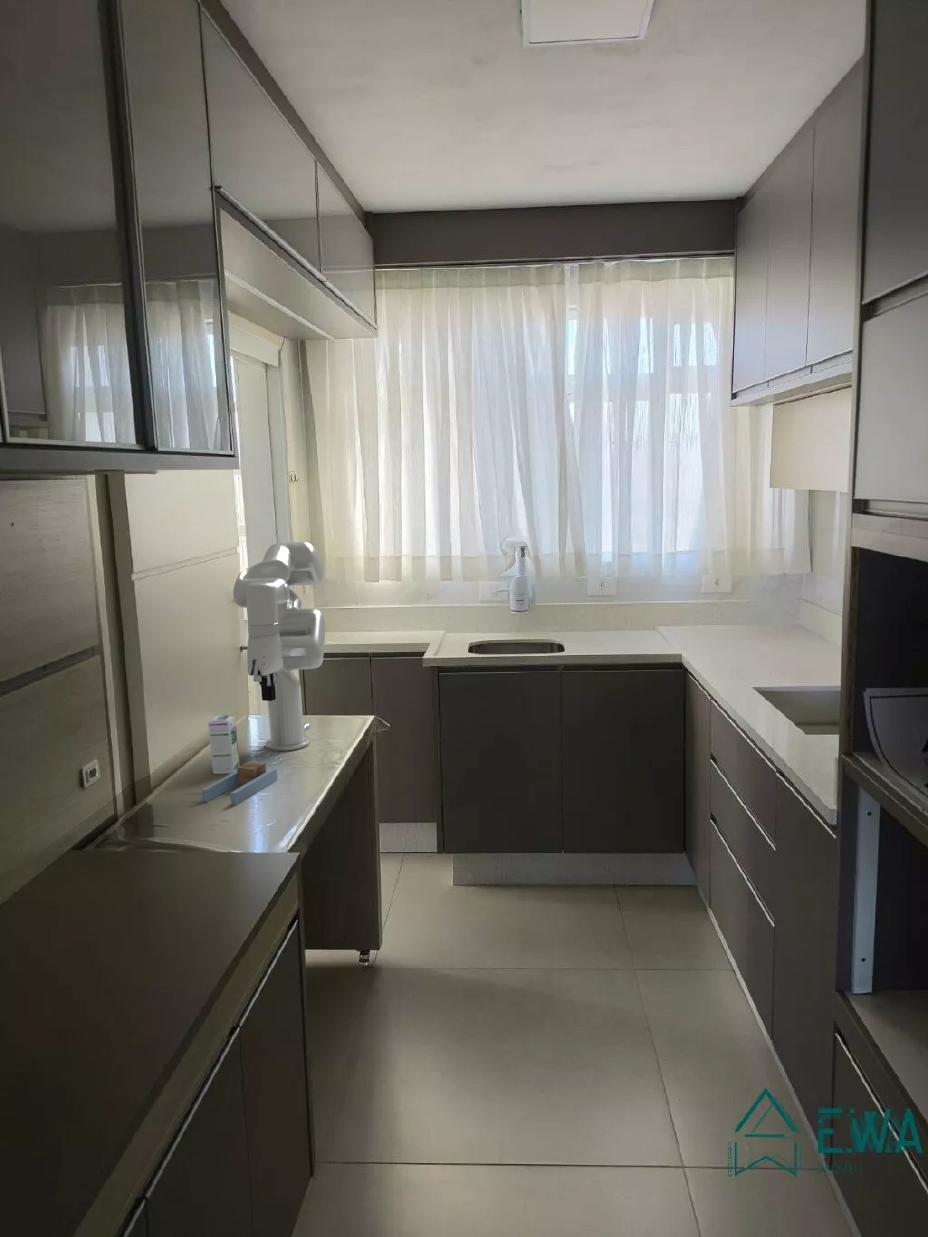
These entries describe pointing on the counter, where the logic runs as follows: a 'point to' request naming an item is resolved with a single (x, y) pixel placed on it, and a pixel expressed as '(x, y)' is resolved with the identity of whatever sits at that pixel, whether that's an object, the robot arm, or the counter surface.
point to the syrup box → (224, 744)
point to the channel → (241, 792)
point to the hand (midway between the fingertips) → (269, 699)
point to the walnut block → (250, 772)
